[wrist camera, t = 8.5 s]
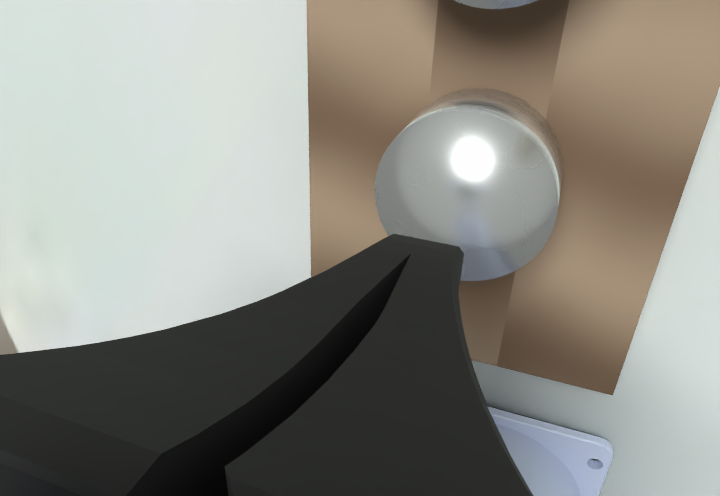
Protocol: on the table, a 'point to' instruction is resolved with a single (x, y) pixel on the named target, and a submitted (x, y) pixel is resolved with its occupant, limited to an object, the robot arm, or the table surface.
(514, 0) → the button middle
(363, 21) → the button panel
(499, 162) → the button
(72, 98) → the table surface
